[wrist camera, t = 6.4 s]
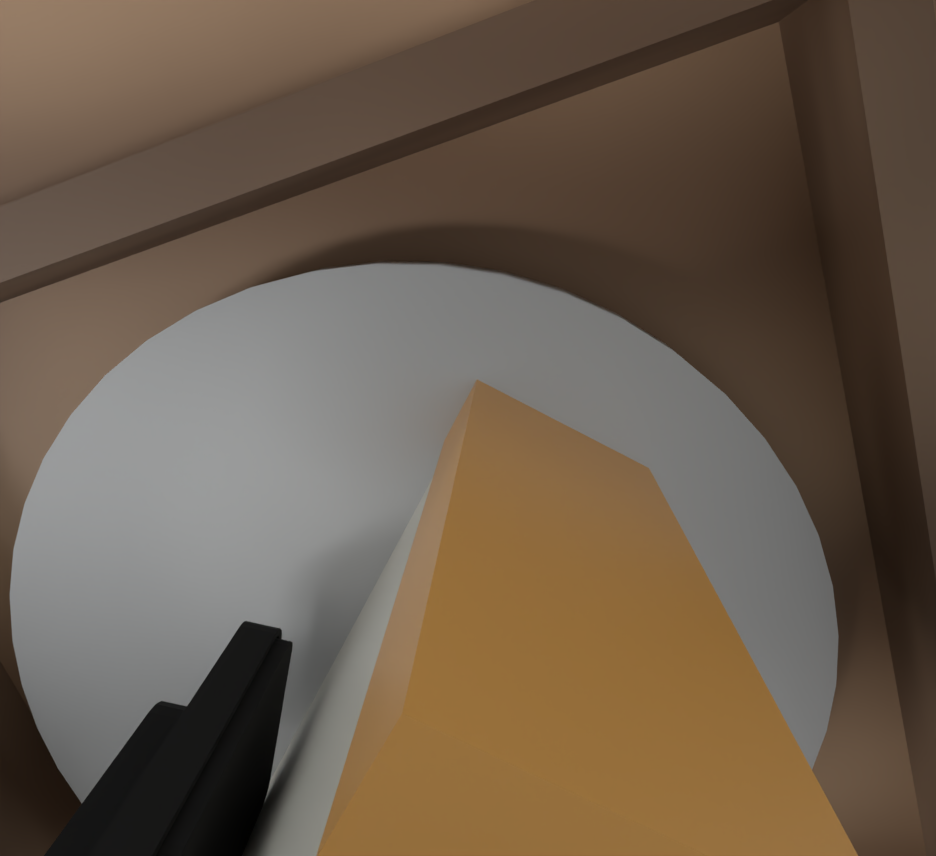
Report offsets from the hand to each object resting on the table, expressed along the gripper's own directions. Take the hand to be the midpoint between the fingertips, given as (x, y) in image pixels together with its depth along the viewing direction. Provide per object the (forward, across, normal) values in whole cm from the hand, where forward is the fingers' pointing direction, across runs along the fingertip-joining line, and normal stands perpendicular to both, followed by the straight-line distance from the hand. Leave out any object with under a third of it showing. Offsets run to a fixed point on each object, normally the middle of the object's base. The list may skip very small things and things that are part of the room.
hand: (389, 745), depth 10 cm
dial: (+2, 0, 0) cm, 2 cm away
